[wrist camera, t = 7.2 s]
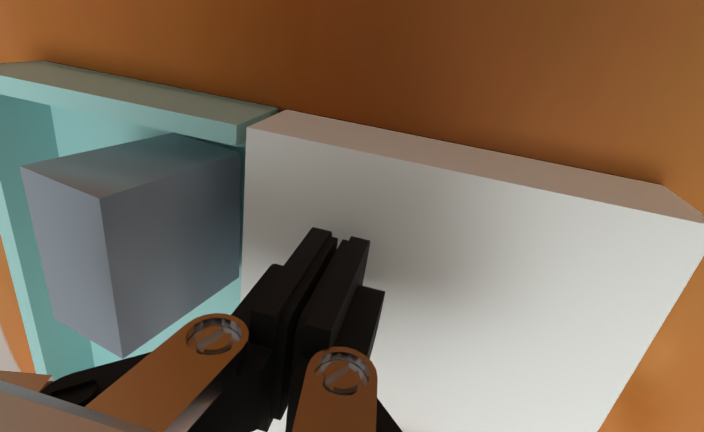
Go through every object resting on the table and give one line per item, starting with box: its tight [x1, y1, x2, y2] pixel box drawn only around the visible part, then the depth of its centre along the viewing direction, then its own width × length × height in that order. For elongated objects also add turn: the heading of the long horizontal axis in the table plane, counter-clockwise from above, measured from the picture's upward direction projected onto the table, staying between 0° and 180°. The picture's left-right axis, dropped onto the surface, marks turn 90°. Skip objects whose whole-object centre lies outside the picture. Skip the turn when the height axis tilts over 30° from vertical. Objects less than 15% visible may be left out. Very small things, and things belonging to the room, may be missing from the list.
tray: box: [0, 61, 278, 381], centre depth 17 cm, size 9×16×3 cm, turn 172°
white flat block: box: [240, 110, 704, 432], centre depth 15 cm, size 12×16×3 cm
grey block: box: [19, 133, 241, 359], centre depth 13 cm, size 5×5×3 cm
